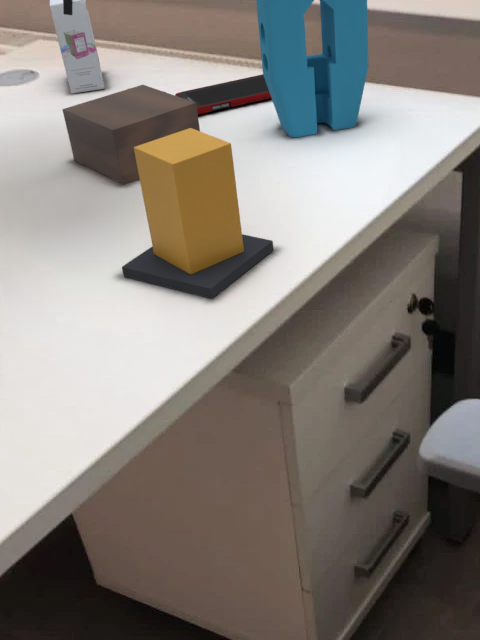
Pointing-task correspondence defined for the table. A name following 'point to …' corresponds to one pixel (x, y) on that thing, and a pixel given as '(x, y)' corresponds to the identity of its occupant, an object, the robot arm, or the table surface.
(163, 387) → the table surface
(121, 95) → the walnut block
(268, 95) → the cell phone
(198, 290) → the grey mat
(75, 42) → the ink box
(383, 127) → the table surface
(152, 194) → the ochre block
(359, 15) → the blue slotted bracket
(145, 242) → the table surface
